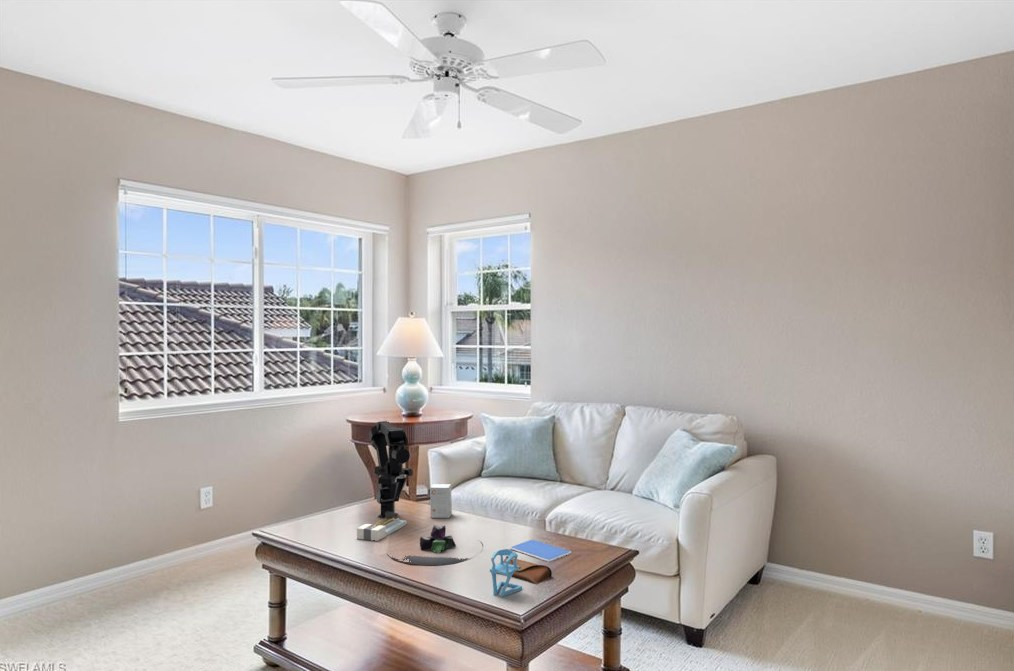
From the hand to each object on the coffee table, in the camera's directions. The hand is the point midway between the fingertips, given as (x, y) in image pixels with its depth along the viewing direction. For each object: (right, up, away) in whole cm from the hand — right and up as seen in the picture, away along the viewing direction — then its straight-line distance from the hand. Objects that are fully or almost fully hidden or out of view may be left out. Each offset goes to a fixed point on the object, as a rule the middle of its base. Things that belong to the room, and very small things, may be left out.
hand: (395, 496), depth 259 cm
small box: (+18, -11, +10) cm, 23 cm away
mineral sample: (+20, -12, -31) cm, 39 cm away
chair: (+45, -11, -70) cm, 84 cm away
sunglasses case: (+51, -11, -57) cm, 77 cm away
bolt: (-3, -9, -8) cm, 13 cm away
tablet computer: (+58, -11, -35) cm, 68 cm away
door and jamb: (-3, -11, -10) cm, 15 cm away
